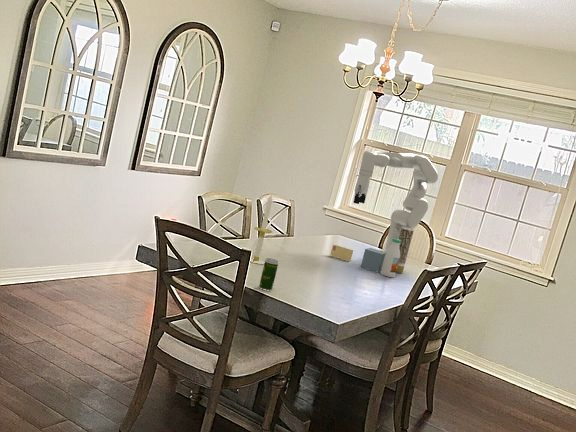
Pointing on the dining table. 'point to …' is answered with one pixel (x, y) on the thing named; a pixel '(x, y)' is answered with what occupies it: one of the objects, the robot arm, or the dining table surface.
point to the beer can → (268, 274)
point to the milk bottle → (391, 259)
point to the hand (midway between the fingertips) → (358, 203)
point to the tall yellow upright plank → (341, 252)
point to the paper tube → (404, 247)
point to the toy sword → (262, 230)
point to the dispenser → (373, 259)
